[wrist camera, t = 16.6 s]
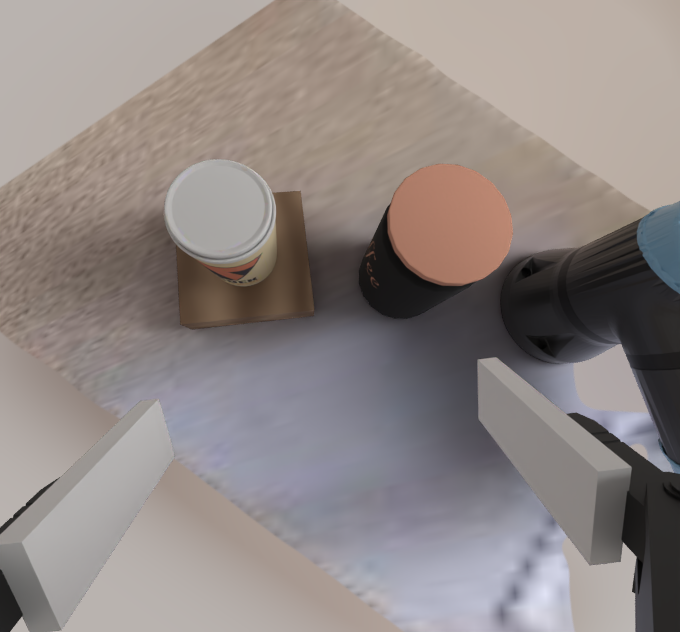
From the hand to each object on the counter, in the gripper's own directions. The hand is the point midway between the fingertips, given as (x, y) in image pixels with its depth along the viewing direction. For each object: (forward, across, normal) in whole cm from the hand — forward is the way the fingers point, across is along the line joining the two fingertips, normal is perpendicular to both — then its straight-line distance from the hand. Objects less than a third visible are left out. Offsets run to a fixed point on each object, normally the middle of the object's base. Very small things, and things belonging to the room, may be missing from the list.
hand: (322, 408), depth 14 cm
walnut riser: (+32, -10, +3) cm, 34 cm away
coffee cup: (+29, -9, +5) cm, 31 cm away
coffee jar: (+33, +9, -1) cm, 34 cm away
